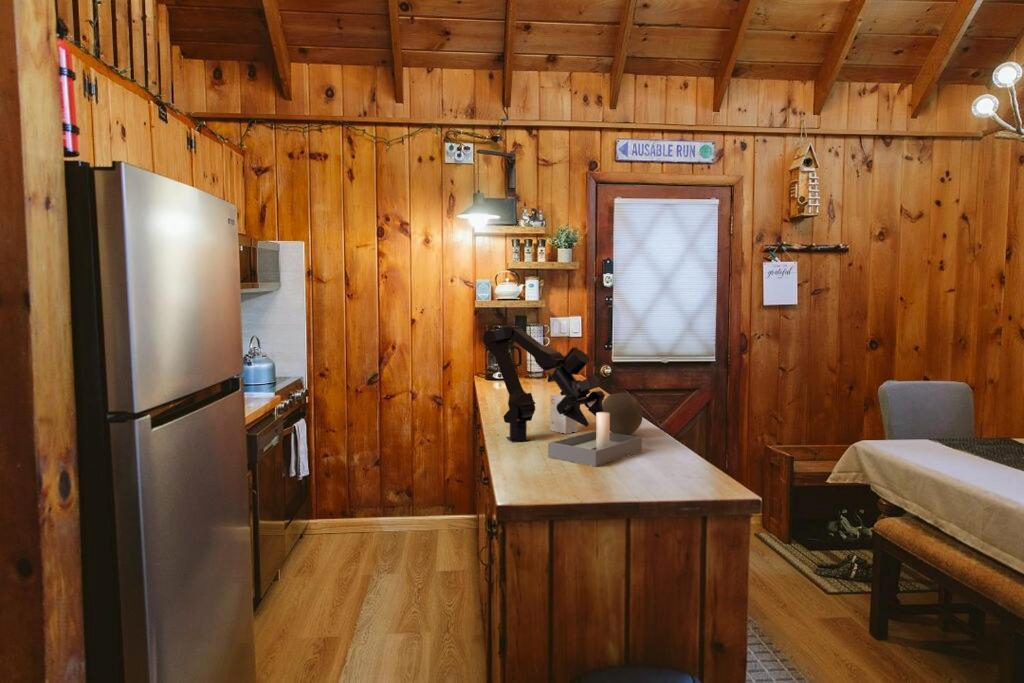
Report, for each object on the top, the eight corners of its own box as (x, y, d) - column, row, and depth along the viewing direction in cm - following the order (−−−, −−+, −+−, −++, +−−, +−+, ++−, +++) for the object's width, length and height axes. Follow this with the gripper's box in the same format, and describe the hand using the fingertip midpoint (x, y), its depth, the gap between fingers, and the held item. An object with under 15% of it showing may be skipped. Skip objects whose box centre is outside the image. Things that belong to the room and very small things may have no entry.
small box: (578, 432, 233) (578, 395, 232) (565, 434, 229) (565, 397, 228) (562, 428, 239) (562, 393, 238) (549, 431, 235) (549, 395, 234)
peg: (594, 456, 197) (594, 413, 196) (598, 453, 200) (599, 411, 199) (606, 457, 195) (607, 414, 194) (611, 455, 198) (611, 412, 197)
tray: (548, 457, 195) (548, 442, 195) (596, 443, 214) (596, 430, 214) (595, 466, 184) (595, 451, 184) (641, 451, 203) (641, 437, 202)
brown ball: (609, 430, 236) (610, 389, 235) (647, 434, 229) (648, 391, 228) (594, 437, 224) (594, 393, 223) (633, 441, 217) (633, 397, 216)
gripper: (564, 369, 194) (595, 411, 187) (600, 365, 208) (629, 403, 201) (543, 393, 200) (572, 434, 193) (579, 387, 213) (607, 425, 207)
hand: (596, 423), depth 198 cm, fingers open, 9 cm apart
